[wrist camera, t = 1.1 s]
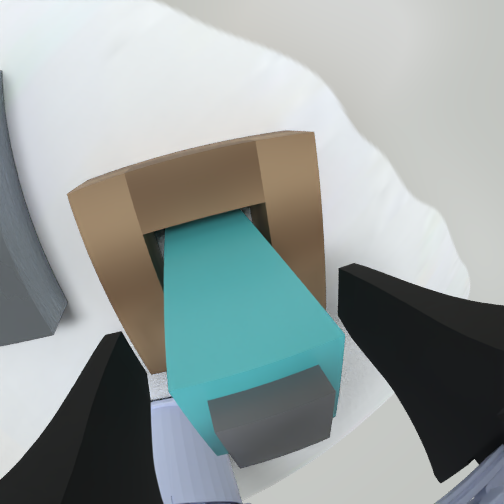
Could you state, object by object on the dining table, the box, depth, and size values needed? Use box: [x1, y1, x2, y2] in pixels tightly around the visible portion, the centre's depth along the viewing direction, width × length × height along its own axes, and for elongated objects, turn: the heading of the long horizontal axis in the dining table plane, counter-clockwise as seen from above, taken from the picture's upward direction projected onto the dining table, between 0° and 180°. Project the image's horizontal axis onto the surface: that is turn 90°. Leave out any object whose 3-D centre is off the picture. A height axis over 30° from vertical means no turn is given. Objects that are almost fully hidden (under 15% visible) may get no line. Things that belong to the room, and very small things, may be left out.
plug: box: [164, 208, 345, 468], centre depth 10 cm, size 4×4×11 cm
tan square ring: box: [67, 131, 326, 375], centre depth 13 cm, size 10×10×3 cm
